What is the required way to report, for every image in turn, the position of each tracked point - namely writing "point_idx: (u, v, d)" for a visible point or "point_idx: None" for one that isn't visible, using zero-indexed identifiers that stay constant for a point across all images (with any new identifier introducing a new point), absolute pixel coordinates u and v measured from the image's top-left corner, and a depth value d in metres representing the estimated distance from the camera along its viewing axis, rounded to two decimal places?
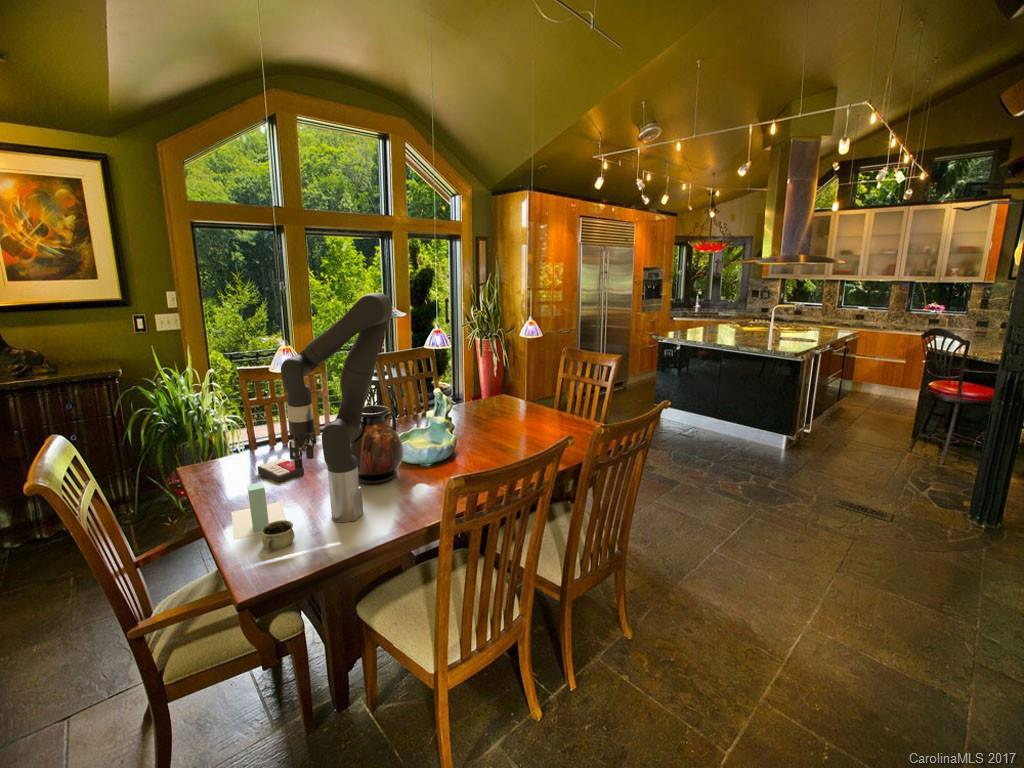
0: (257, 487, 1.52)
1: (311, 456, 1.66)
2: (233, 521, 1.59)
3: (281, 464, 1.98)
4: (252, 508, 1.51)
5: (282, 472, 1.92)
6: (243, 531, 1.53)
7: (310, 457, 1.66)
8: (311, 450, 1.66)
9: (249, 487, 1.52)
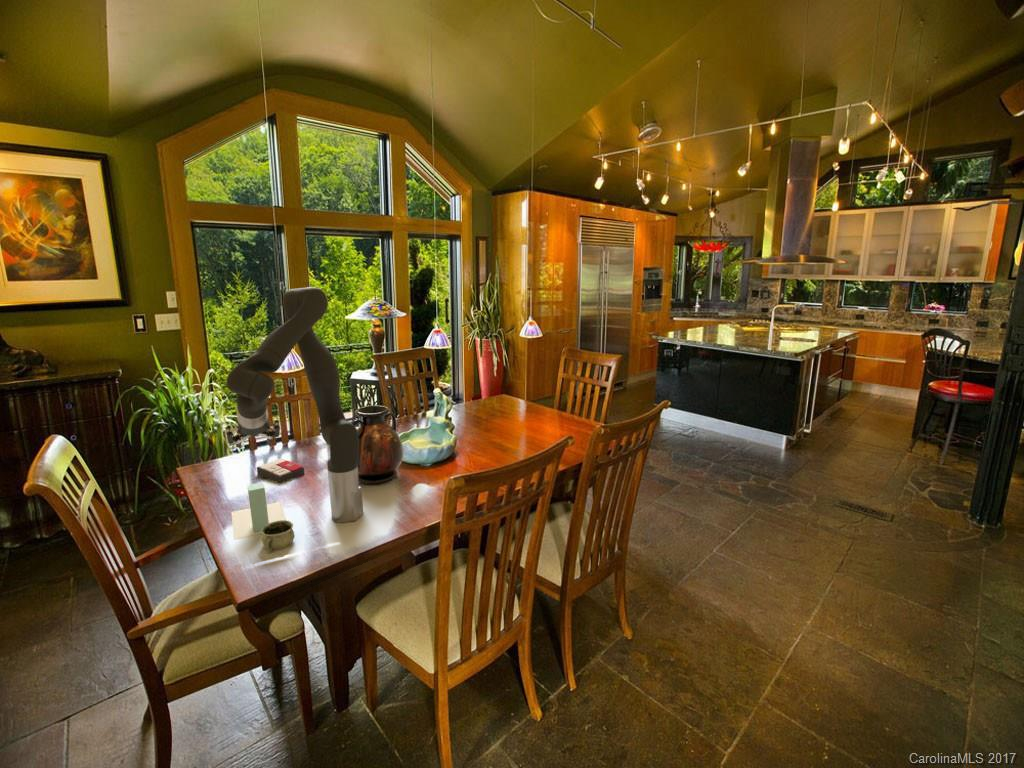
0: (257, 487, 1.52)
1: None
2: (233, 521, 1.59)
3: (281, 464, 1.98)
4: (252, 508, 1.51)
5: (283, 472, 1.92)
6: (243, 531, 1.53)
7: None
8: None
9: (249, 487, 1.52)
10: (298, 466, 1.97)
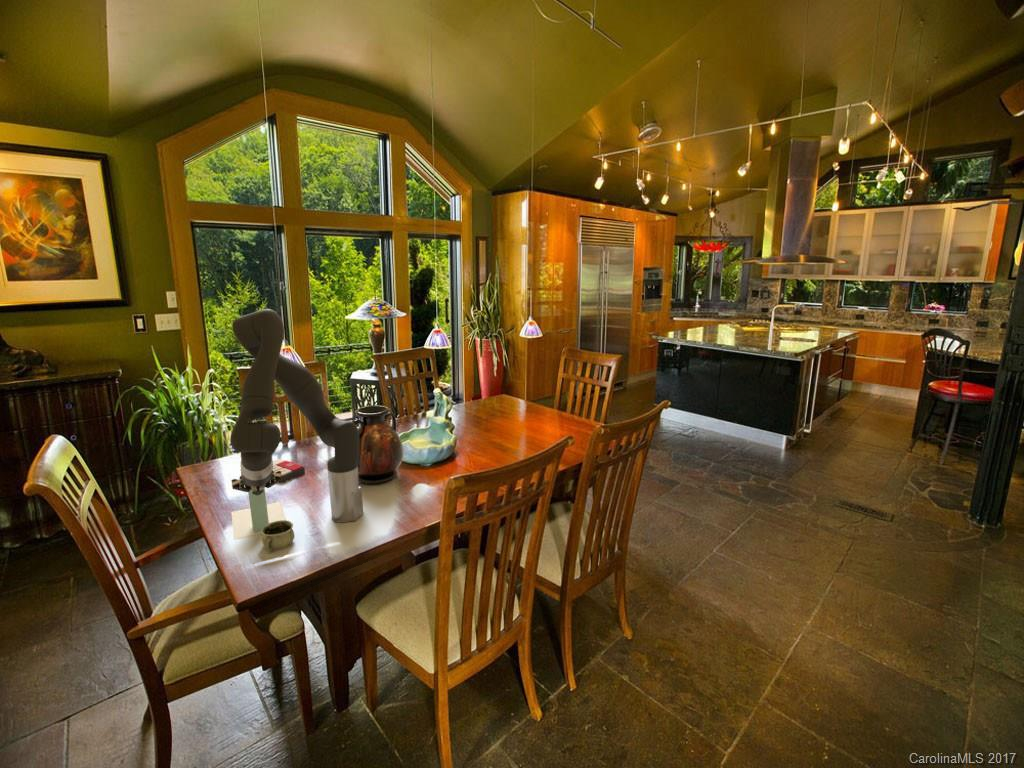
0: None
1: None
2: (233, 521, 1.59)
3: (280, 464, 1.98)
4: (252, 508, 1.51)
5: (284, 472, 1.92)
6: (243, 531, 1.53)
7: None
8: (257, 485, 1.41)
9: None
10: (298, 466, 1.98)
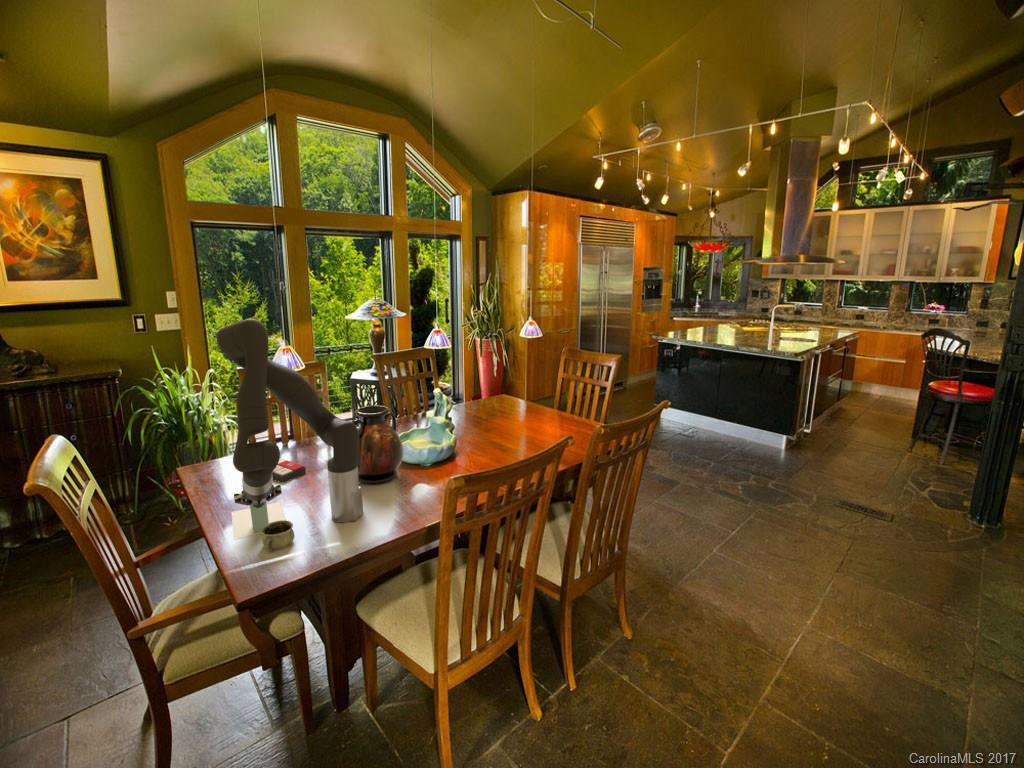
0: None
1: None
2: (233, 521, 1.59)
3: (281, 464, 1.99)
4: (252, 508, 1.51)
5: (285, 471, 1.92)
6: (243, 531, 1.53)
7: None
8: None
9: None
10: (299, 465, 1.98)
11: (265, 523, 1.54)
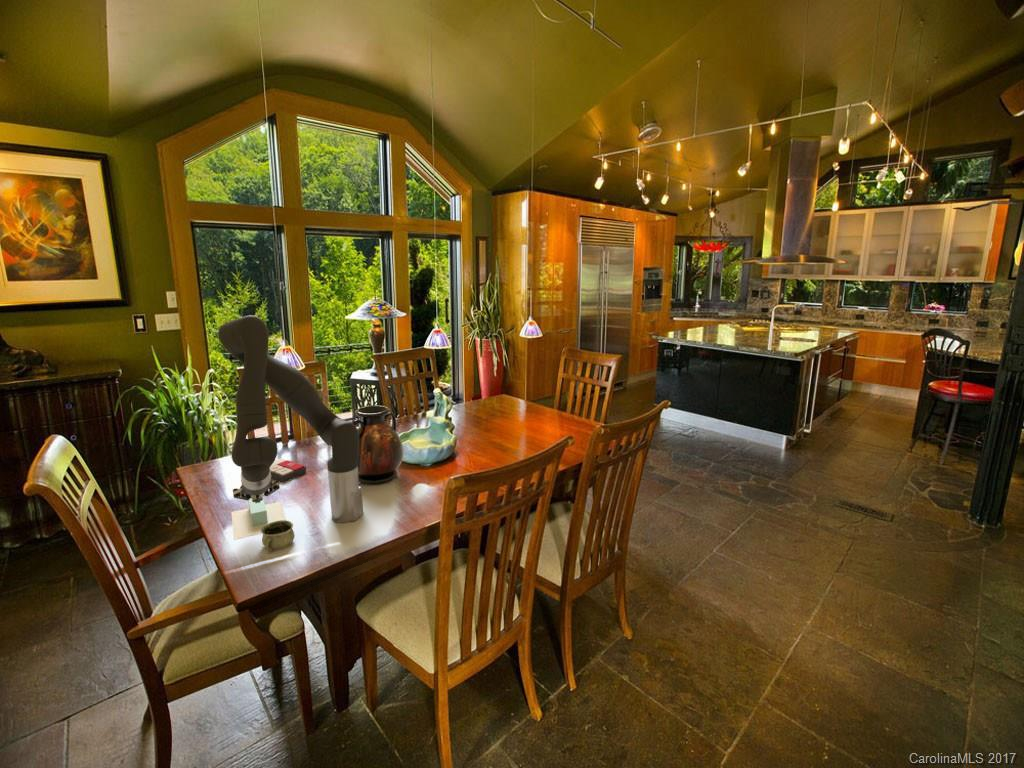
0: None
1: None
2: (233, 521, 1.59)
3: (282, 464, 1.99)
4: (250, 503, 1.62)
5: (285, 471, 1.92)
6: (243, 531, 1.53)
7: None
8: None
9: None
10: (300, 465, 1.98)
11: (262, 508, 1.59)
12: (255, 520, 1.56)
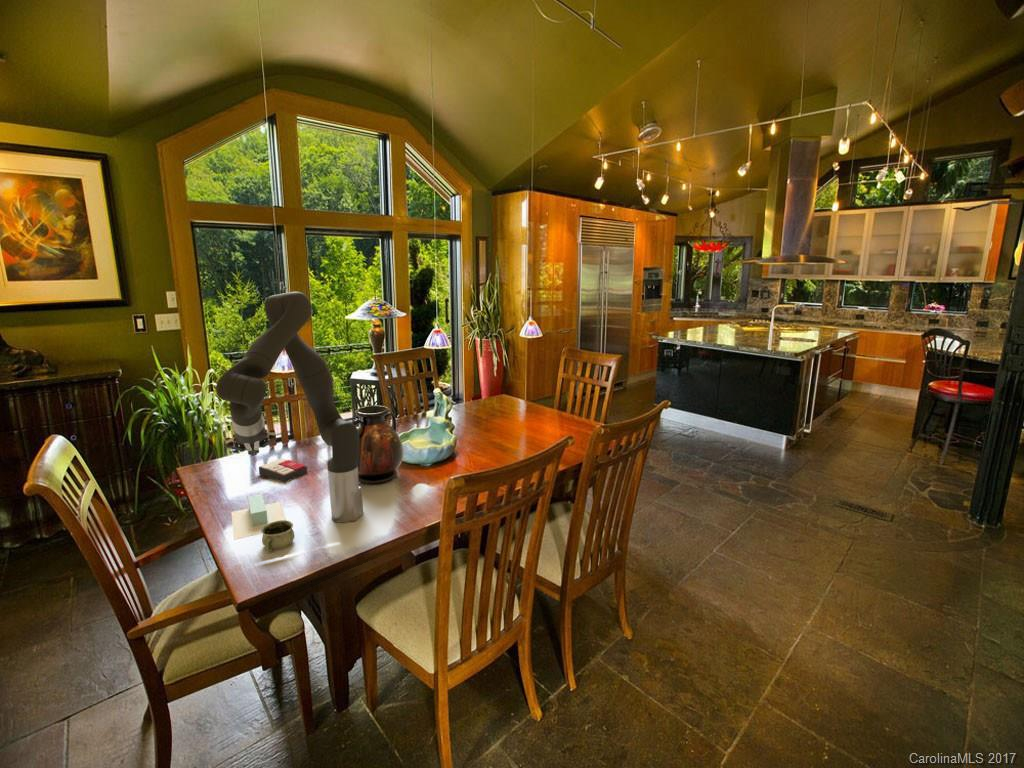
0: None
1: None
2: (233, 521, 1.59)
3: (283, 463, 1.99)
4: (250, 503, 1.62)
5: (286, 471, 1.93)
6: (243, 531, 1.53)
7: None
8: None
9: None
10: (301, 465, 1.99)
11: (262, 508, 1.59)
12: (255, 520, 1.56)
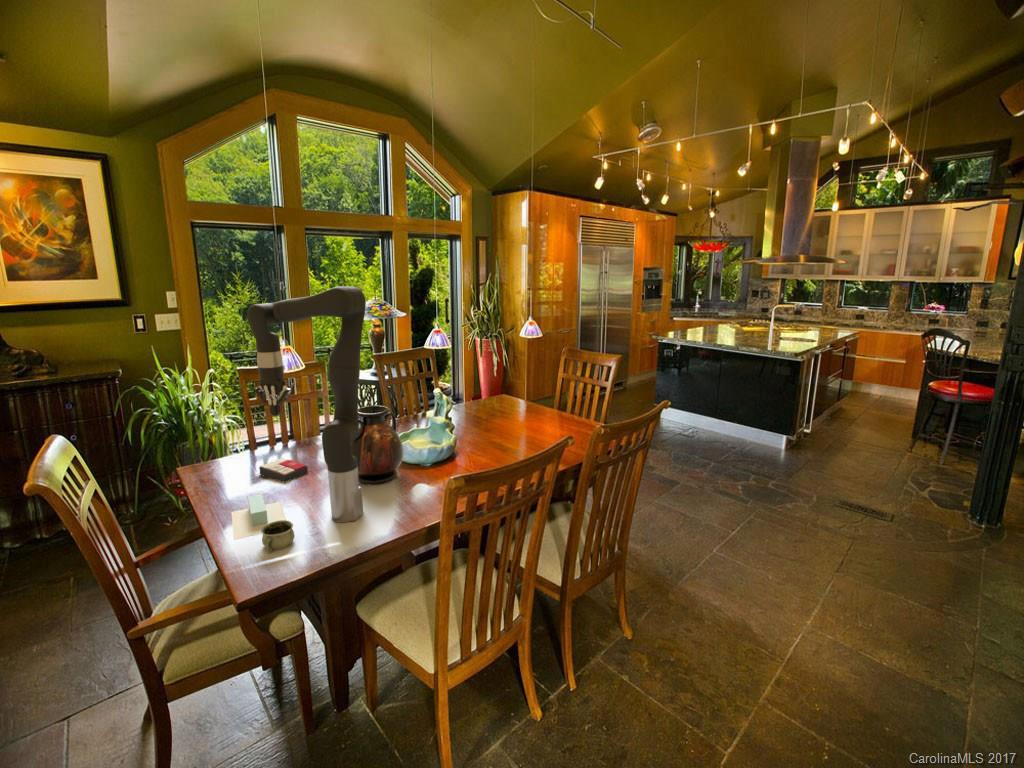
0: None
1: None
2: (233, 521, 1.59)
3: (283, 463, 1.99)
4: (250, 503, 1.62)
5: (287, 471, 1.93)
6: (243, 531, 1.53)
7: None
8: None
9: None
10: (301, 465, 1.99)
11: (262, 508, 1.59)
12: (255, 520, 1.56)
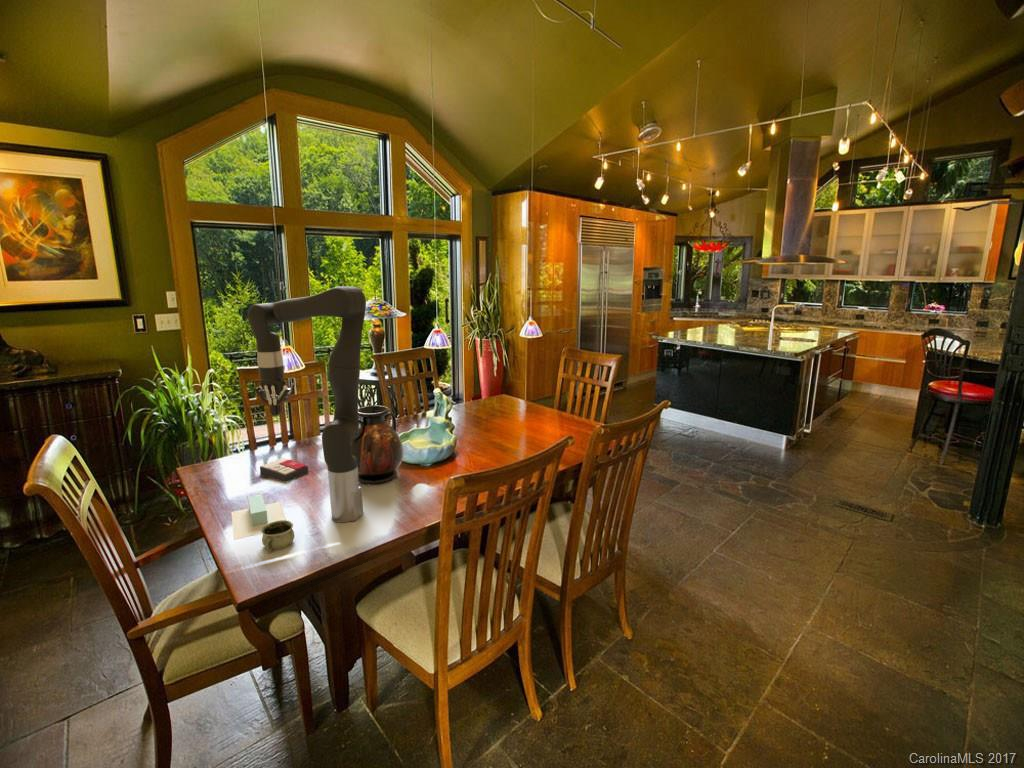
0: None
1: None
2: (233, 521, 1.59)
3: (284, 463, 1.99)
4: (250, 503, 1.62)
5: (288, 471, 1.93)
6: (243, 531, 1.53)
7: None
8: None
9: None
10: (302, 465, 1.99)
11: (262, 508, 1.59)
12: (255, 520, 1.56)
